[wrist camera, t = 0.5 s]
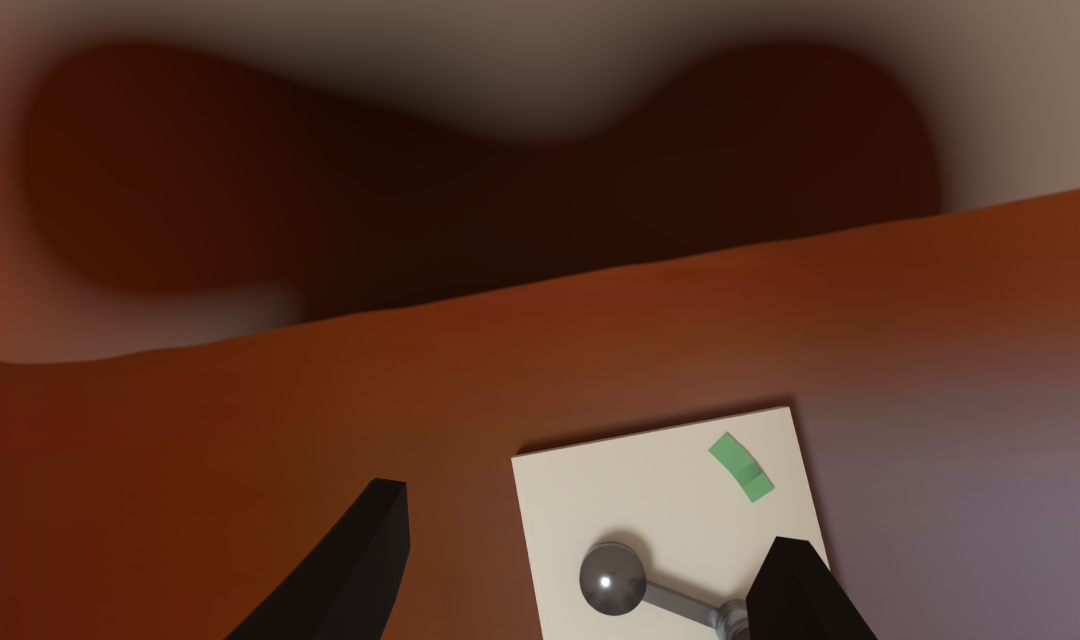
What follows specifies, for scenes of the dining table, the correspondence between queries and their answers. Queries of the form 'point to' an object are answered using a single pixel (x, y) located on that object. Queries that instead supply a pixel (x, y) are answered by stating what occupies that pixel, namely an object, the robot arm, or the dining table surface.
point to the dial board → (664, 517)
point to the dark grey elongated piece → (650, 592)
